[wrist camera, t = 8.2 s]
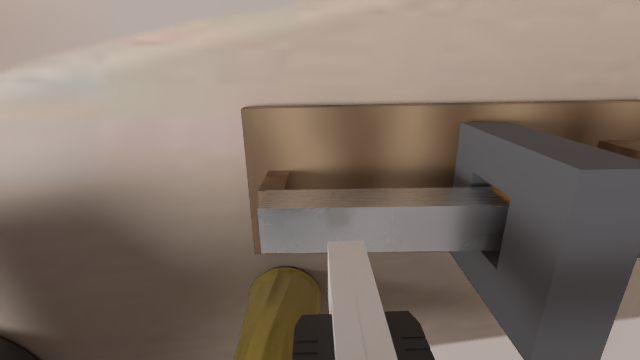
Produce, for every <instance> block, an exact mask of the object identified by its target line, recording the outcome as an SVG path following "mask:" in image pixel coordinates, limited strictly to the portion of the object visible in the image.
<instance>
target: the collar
mask: <svg viewBox="0 0 640 360" xmlns="http://www.w3.org/2000/svg"><path fill="white" fill-rule="evenodd" d="M490 184H491V185H493V186H494V187H496V188H497V189H499V190H500V191H501V192H503V193H504V194H506V195H507V196H509V197H510V198H511V199H510V204H509V210H508V215H507V220H506V225H505V230H504V235H503V240H502V245H501V250H500V251H449V252H450V254H451V255H452V256H453V258H454V259H455V261H456V262H457V264H458V265H459V267H460V268H461V269H462V271H463V272H464V274H465V275H466V277H467V278H468V280H469V281H470V282H471V284H472V285H473V287H474V288H475V290H476V291H477V293H478V294H479V295H480V297H481V298H482V300H483V301H484V303H485V304H486V306H487V307H488V308H489V310H490V311H491V313H492V314H493V316H494V317H495V319H496V320H497V321H498V323H499V324H500V326H501V327H502V329H503V330H504V332H505V333H506V334H507V336H508V337H509V339H510V340H511V342H512V343H513V344H514V346H515V347H516V349H517V350H518V352H519V353H520V355H521V356H522V357H523V359H524V360H600V358H601V356H602V353H603V350H604V347H605V345H606V342H607V339H608V336H609V333H610V331H611V328H612V325H613V323H614V320H615V317H616V314H617V311H618V309H619V306H620V303H621V300H622V298H623V295H624V292H625V289H626V287H627V284H628V281H629V278H630V276H631V273H632V270H633V267H634V265H635V262H636V259H637V256H638V253H639V251H640V160H638V159H634V158H631V157H628V156H624V155H621V154H617V153H614V152H610V151H607V150H604V149H600V148H597V147H593V146H590V145H586V144H583V143H579V142H576V141H573V140H569V139H566V138H562V137H559V136H555V135H552V134H548V133H545V132H542V131H538V130H535V129H531V128H528V127H524V126H521V125H517V124H514V123H511V122H468V123H461V127H460V135H459V142H458V150H457V158H456V166H455V173H454V181H453V187H489V185H490Z"/></svg>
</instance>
